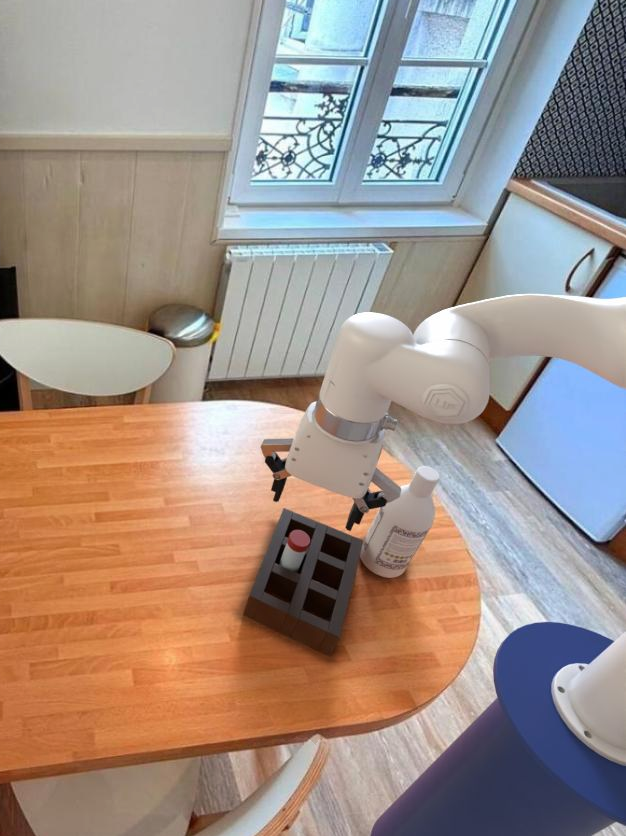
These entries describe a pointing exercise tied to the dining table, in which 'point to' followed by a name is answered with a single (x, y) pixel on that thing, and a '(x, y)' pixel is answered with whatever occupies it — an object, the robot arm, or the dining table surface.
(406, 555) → the bath foam
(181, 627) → the dining table surface
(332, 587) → the rack
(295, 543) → the test tube
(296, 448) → the robot arm
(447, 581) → the dining table surface
